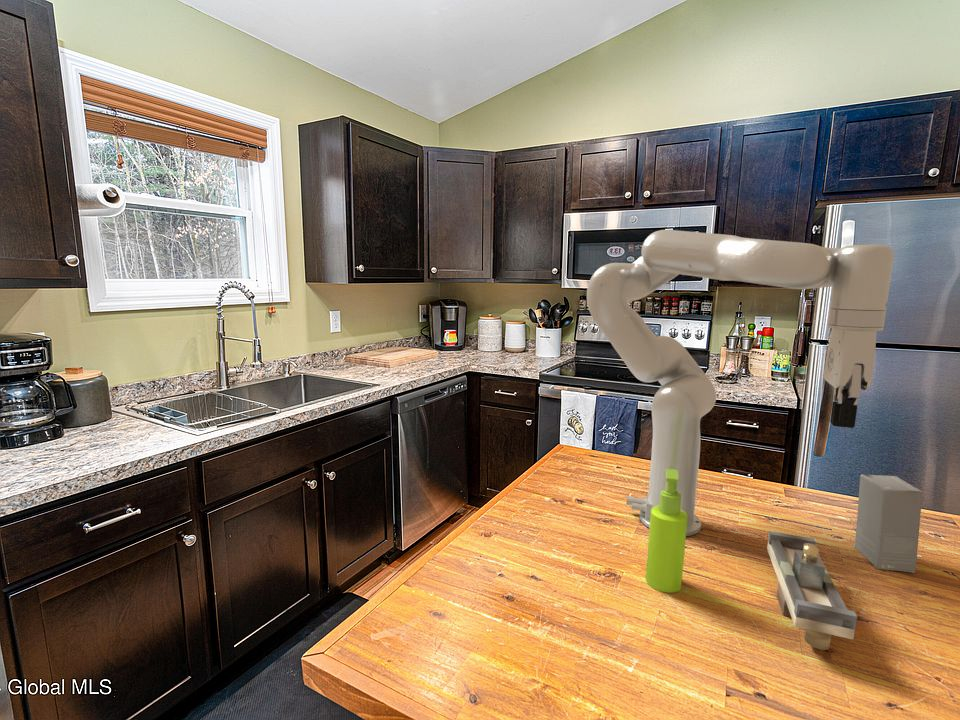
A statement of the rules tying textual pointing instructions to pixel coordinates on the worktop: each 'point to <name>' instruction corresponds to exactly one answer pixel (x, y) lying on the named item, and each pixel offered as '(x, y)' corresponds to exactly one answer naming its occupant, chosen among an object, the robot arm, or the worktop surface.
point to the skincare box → (888, 522)
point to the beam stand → (808, 596)
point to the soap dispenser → (667, 539)
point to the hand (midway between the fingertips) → (841, 425)
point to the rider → (808, 567)
